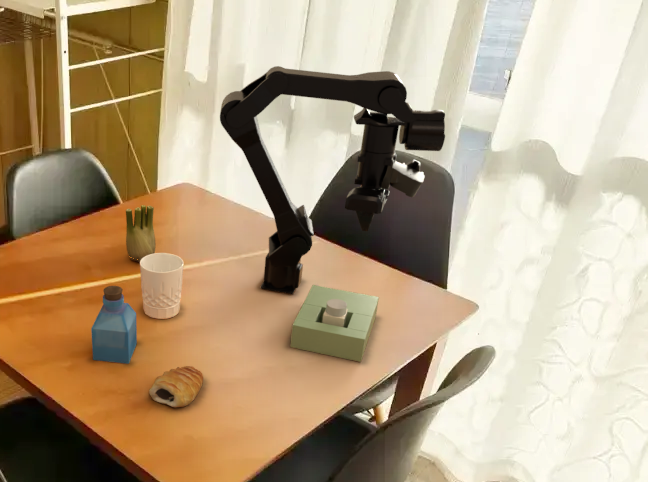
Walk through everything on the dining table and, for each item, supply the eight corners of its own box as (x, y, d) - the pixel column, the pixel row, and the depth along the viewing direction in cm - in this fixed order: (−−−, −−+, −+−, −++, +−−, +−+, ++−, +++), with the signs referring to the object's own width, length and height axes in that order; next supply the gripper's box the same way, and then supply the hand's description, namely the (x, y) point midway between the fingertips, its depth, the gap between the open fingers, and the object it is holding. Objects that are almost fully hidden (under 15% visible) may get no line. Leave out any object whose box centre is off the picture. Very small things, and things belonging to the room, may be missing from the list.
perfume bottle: (128, 363, 124) (127, 301, 118) (93, 359, 126) (89, 297, 119) (136, 343, 130) (135, 283, 123) (102, 340, 131) (99, 279, 124)
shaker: (344, 334, 132) (340, 344, 129) (324, 330, 133) (319, 340, 130) (349, 300, 128) (345, 310, 125) (328, 297, 129) (324, 306, 127)
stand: (290, 347, 128) (292, 324, 126) (310, 305, 140) (312, 284, 138) (360, 362, 124) (364, 339, 122) (375, 318, 136) (379, 296, 134)
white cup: (189, 304, 141) (190, 257, 136) (172, 324, 135) (173, 275, 130) (151, 296, 144) (150, 249, 139) (133, 315, 138) (132, 267, 133)
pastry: (178, 370, 123) (179, 351, 121) (214, 384, 119) (215, 364, 117) (145, 399, 116) (145, 379, 114) (182, 414, 113) (183, 394, 111)
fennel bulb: (125, 263, 156) (124, 210, 150) (130, 253, 160) (128, 200, 154) (153, 265, 155) (152, 211, 149) (156, 255, 159) (156, 202, 153)
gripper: (420, 171, 121) (403, 258, 129) (431, 138, 135) (415, 218, 144) (350, 163, 125) (338, 247, 133) (368, 131, 139) (357, 209, 147)
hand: (365, 230), depth 139 cm, fingers closed
